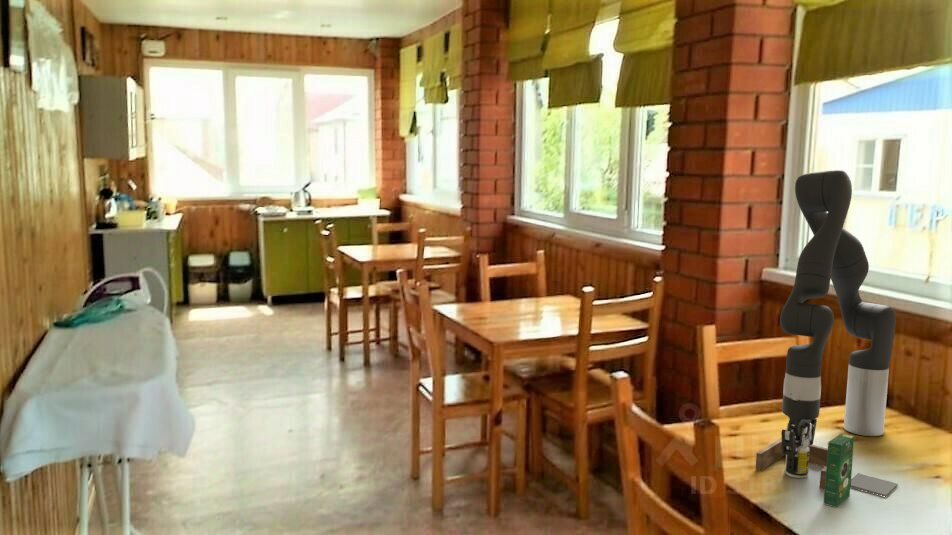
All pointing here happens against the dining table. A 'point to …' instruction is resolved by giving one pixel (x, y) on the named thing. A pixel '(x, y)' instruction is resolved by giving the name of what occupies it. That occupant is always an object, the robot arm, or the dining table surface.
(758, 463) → the open box
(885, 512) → the dining table surface
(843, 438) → the coffee box
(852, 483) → the grey mat
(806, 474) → the supplement bottle
